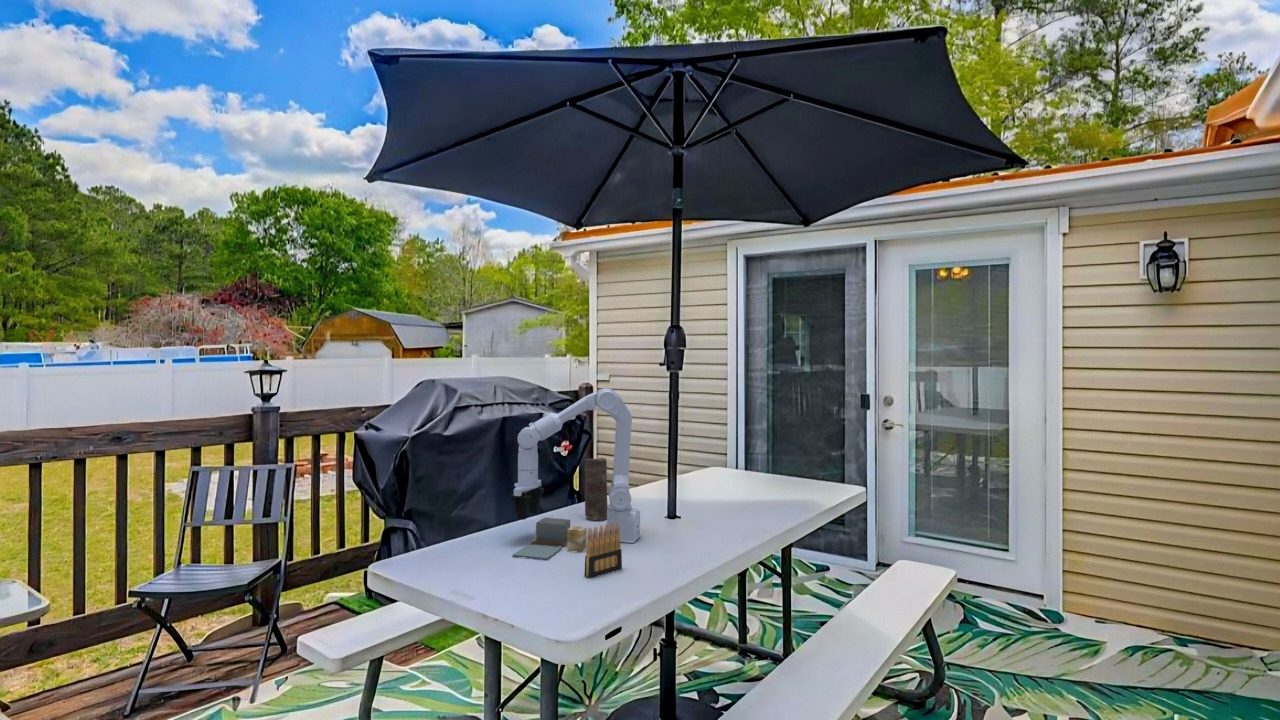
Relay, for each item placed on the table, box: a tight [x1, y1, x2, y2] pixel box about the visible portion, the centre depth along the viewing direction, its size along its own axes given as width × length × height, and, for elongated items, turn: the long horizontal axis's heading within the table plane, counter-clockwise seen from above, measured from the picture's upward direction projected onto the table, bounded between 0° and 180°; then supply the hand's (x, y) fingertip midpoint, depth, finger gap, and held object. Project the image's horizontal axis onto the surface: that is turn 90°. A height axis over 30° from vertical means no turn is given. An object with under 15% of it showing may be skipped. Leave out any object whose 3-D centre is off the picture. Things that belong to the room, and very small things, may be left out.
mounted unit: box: [530, 517, 571, 548], centre depth 193 cm, size 10×8×6 cm
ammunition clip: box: [583, 522, 623, 579], centre depth 167 cm, size 11×2×12 cm, turn 133°
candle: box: [584, 457, 608, 522], centre depth 220 cm, size 8×7×20 cm
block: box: [566, 525, 587, 553], centre depth 186 cm, size 4×4×6 cm
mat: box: [512, 543, 563, 561], centre depth 182 cm, size 10×10×1 cm
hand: (527, 515), depth 195 cm, fingers open, 7 cm apart
